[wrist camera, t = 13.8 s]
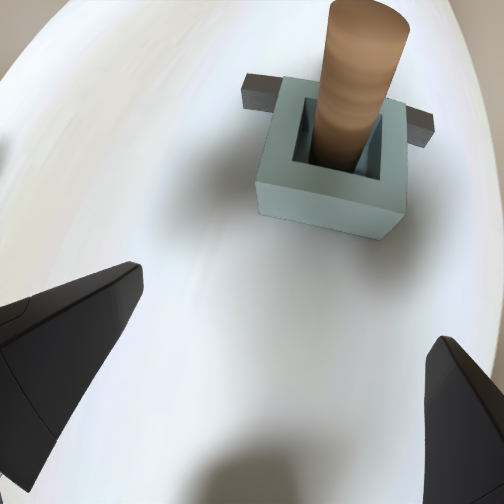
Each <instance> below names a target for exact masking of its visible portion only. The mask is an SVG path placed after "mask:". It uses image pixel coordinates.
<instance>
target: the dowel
mask: <svg viewBox="0 0 504 504" xmlns="http://www.w3.org/2000/svg"><path fill="white" fill-rule="evenodd" d="M409 32H410V26H409V24H408V22H407V21H406V19H405V18H404V17H403V16H402V15H401V14H399V13H398V12H397V11H395V10H394V9H392V8H390V7H389V6H387V5H384V4H382V3H379V2H377V1H374V0H335V1H334V2H332V3H331V5H330V9H329V17H328V26H327V34H326V42H325V49H324V57H323V64H322V72H321V79H320V86H319V93H318V99H317V106H316V113H315V119H314V125H313V132H312V138H311V144H310V150H309V156H308V162H309V165H314V166H319V167H324V168H328V169H333V170H337V171H342V172H346V173H350V174H353V173H354V171H355V169H356V166H357V164H358V162H359V159H360V157H361V155H362V152H363V150H364V148H365V145H366V143H367V141H368V138H369V136H370V133H371V131H372V129H373V126H374V124H375V121H376V119H377V117H378V114H379V112H380V109H381V107H382V104H383V102H384V99H385V97H386V94H387V91H388V89H389V86H390V84H391V81H392V79H393V76H394V73H395V71H396V68H397V65H398V63H399V60H400V57H401V54H402V52H403V49H404V46H405V43H406V41H407V38H408V35H409Z"/></svg>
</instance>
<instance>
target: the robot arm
mask: <svg viewBox="0 0 504 504" xmlns="http://www.w3.org/2000/svg"><path fill="white" fill-rule="evenodd" d="M143 289H144V284H143V269H142V266H141V265H140V264H138V263H134V262H131V261H128V262H125V263H122V264H119V265H116V266H113V267H111V268H108V269H105V270H102V271H99V272H96V273H93V274H91V275H88V276H85V277H82V278H79V279H77V280H74V281H71V282H68V283H65V284H63V285H60V286H57V287H54V288H52V289H49V290H46V291H44V292H41V293H38V294H35V295H33V296H32V297H27V298H25V299H22V300H19V301H17V302H14V303H11V304H8V305H5V306H2V307H0V478H1V476H2V474H3V475H5V476H6V477H7V478H9V479H10V480H11V481H12V482H14V483H15V484H16V485H18V486H19V487H20V488H22V489H23V490H25V491H26V492H27V493H29V492H30V491H31V489H32V487H33V485H34V483H35V481H36V479H37V477H38V475H39V473H40V472H41V470H42V468H43V466H44V464H45V462H46V460H47V458H48V457H49V455H50V453H51V451H52V449H53V447H54V446H55V444H56V442H57V440H58V438H59V436H60V435H61V433H62V431H63V429H64V428H65V426H66V424H67V422H68V421H69V419H70V417H71V415H72V414H73V412H74V410H75V409H76V407H77V405H78V403H79V402H80V400H81V398H82V397H83V395H84V393H85V392H86V390H87V388H88V387H89V385H90V384H91V382H92V380H93V379H94V377H95V375H96V374H97V372H98V371H99V369H100V367H101V366H102V364H103V363H104V361H105V359H106V358H107V356H108V355H109V353H110V352H111V350H112V348H113V347H114V345H115V344H116V342H117V341H118V339H119V337H120V336H121V334H122V332H123V331H124V329H125V327H126V325H127V323H128V321H129V319H130V317H131V315H132V313H133V311H134V309H135V307H136V305H137V303H138V301H139V299H140V297H141V296H142V293H143ZM424 415H425V475H424V493H423V504H504V395H503V394H502V392H501V391H500V390H499V389H498V388H497V386H496V385H495V384H494V383H493V382H492V381H491V379H490V378H489V377H488V376H487V375H486V374H485V373H484V371H483V370H482V369H481V368H480V367H479V366H478V365H477V364H476V363H475V361H474V360H473V359H472V358H471V357H470V356H469V355H468V354H467V353H466V352H465V350H464V349H463V348H462V347H461V346H460V345H459V344H458V343H457V342H456V341H455V340H454V339H453V338H452V337H448V336H440V337H439V338H438V339H437V340H436V342H435V344H434V345H433V347H432V348H431V350H430V351H429V353H428V355H427V357H426V363H425V397H424ZM0 504H3V501H2V497H1V493H0Z"/></svg>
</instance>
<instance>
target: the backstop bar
mask: <svg viewBox="0 0 504 504" xmlns="http://www.w3.org/2000/svg"><path fill="white" fill-rule="evenodd" d="M282 81H283V78H281V77H273V76H266V75H257V74H248V73H247V75H246V77H245V80H244V82H243V85H242V88H241V93H242V101H243V108H244V109H251V110H259V111H266V112H272V113H274V110H275V106H276V102H277V99H278V95H279V92H280V88H281V84H282ZM406 121H407V143H409V144H413V145H416V146H419V147H422V148H424V147H425V146H426V144H427V143H428V141H429V140H430V138H431V137H432V135H433V134H434V132H435V130H434V120H433V114H430V113H427V112H425V111H422V110H419V109H415V108H412V107H409V106H406Z"/></svg>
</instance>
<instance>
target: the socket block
mask: <svg viewBox="0 0 504 504" xmlns="http://www.w3.org/2000/svg"><path fill="white" fill-rule="evenodd" d="M319 86H320V82H316V81H310V80H305V79H299V78H292V77H286V76H284V77H283V81H282V84H281V88H280V92H279V95H278V99H277V102H276V106H275V110H274V113H273V117H272V120H271V124H270V128H269V131H268V135H267V139H266V142H265V146H264V150H263V153H262V157H261V161H260V164H259V168H258V172H257V176H256V179H255V186H256V194H257V203H258V211H259V214H261V215H266V216H271V217H276V218H281V219H286V220H291V221H296V222H300V223H305V224H310V225H314V226H319V227H324V228H328V229H333V230H337V231H342V232H346V233H350V234H355V235H359V236H364V237H368V238H372V239H376V240H381V239H382V238H383V237H384V236H385V235H386V234H387V233H388V232H389V231H390V230H391V229H392V228H393V227H394V226H395V225H396V224H397V223H398V222H399V221H400V220H401V219H402V218H403V217H404V216H405V215H406V198H407V121H406V104H405V103H402V102H399V101H395V100H392V99H388V98H385V99H384V102H383V104H382V107H381V109H380V112H379V114H378V117H377V119H376V121H375V124H374V126H373V129H372V131H371V133H370V136H369V138H368V141H367V143H366V145H365V148H364V150H363V152H362V155H361V157H360V159H359V162H358V164H357V166H356V169H355V171H354V173H353V174H350V173H346V172H342V171H337V170H333V169H328V168H324V167H319V166H314V165H309V162H308V156H309V150H310V144H311V138H312V132H313V125H314V119H315V113H316V106H317V99H318V93H319Z"/></svg>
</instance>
